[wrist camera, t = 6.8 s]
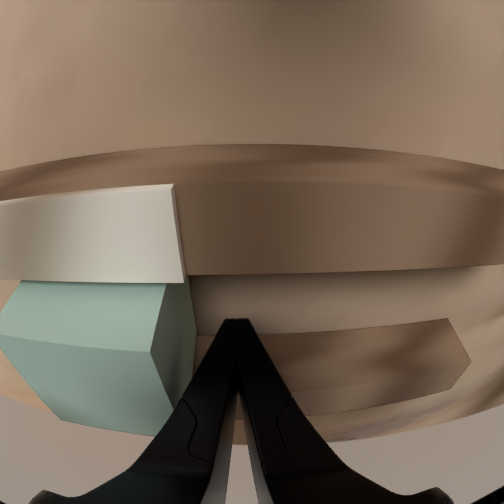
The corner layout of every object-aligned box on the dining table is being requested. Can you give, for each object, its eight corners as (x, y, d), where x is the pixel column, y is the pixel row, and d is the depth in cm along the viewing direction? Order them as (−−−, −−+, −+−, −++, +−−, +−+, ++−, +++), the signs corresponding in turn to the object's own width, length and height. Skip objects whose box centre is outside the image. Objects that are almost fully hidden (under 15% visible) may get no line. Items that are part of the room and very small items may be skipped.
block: (181, 229, 10) (150, 352, 6) (196, 331, 13) (186, 438, 9) (56, 234, 10) (-11, 331, 6) (93, 326, 13) (60, 419, 9)
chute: (505, 170, 9) (558, 210, 6) (431, 347, 15) (452, 393, 12) (-5, 173, 9) (-59, 215, 6) (73, 356, 15) (56, 406, 12)
